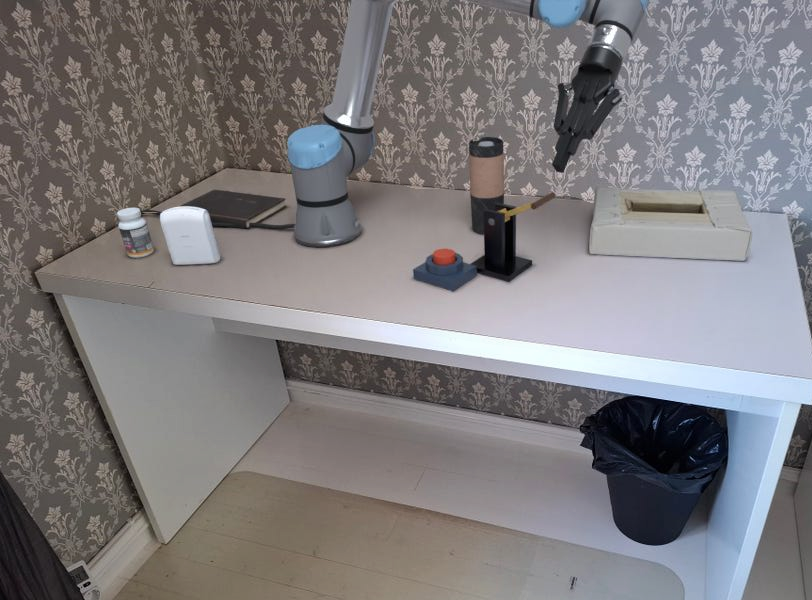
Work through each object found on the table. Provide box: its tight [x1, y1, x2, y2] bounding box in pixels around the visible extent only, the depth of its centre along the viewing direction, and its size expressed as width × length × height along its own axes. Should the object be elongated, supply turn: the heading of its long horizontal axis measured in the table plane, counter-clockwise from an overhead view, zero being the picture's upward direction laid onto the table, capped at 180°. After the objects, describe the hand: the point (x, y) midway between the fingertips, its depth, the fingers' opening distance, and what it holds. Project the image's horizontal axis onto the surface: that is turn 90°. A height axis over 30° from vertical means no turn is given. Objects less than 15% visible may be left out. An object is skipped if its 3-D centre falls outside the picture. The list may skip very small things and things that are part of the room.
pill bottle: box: [116, 207, 155, 259], centre depth 150 cm, size 6×6×10 cm
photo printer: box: [159, 205, 221, 266], centre depth 144 cm, size 10×4×12 cm, turn 90°
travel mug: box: [468, 136, 505, 235], centre depth 152 cm, size 8×8×20 cm
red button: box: [432, 248, 456, 265], centre depth 134 cm, size 4×4×2 cm
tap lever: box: [498, 191, 556, 222], centre depth 130 cm, size 13×7×2 cm, turn 55°
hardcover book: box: [178, 188, 288, 230], centre depth 172 cm, size 16×23×2 cm
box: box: [588, 186, 753, 262], centre depth 148 cm, size 23×8×32 cm
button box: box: [412, 252, 478, 292], centre depth 136 cm, size 10×8×4 cm
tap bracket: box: [470, 203, 533, 283], centre depth 136 cm, size 10×9×13 cm
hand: (557, 168), depth 126 cm, fingers closed
